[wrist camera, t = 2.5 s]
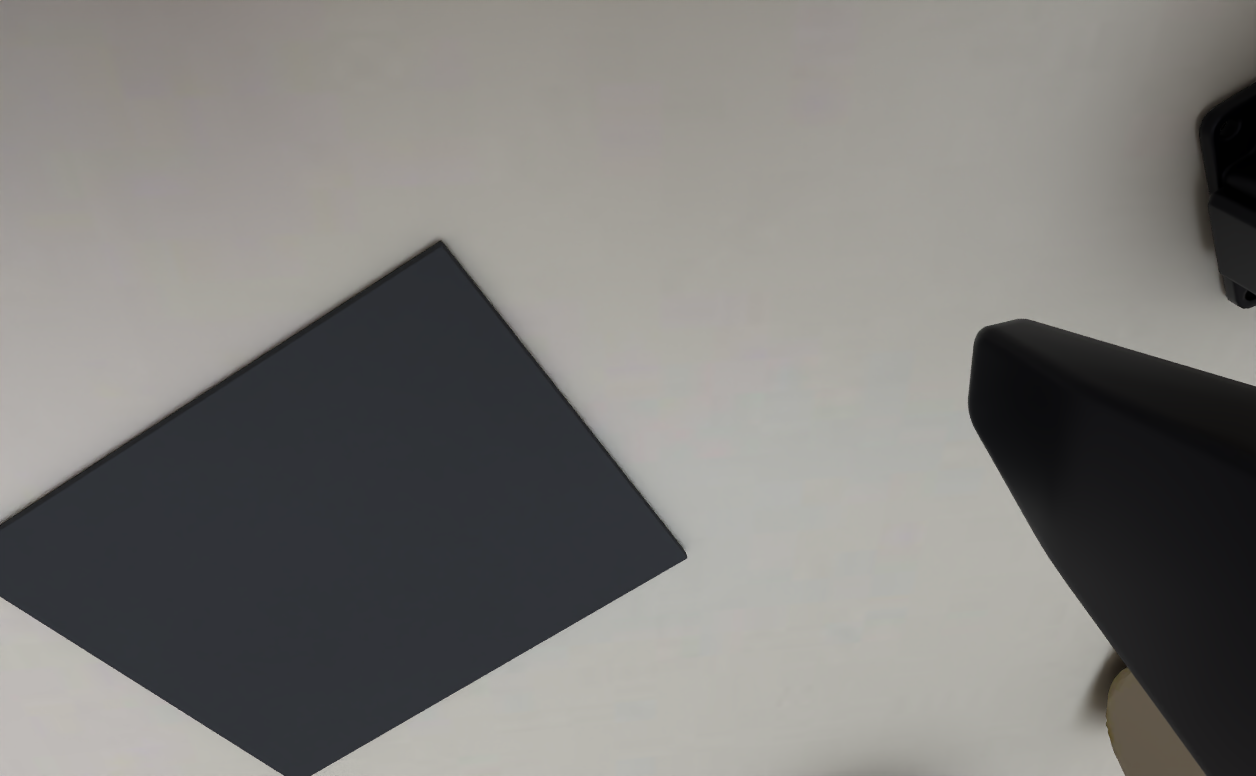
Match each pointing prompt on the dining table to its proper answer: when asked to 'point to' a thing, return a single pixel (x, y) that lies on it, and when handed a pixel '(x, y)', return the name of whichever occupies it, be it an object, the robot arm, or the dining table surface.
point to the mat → (341, 527)
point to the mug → (1144, 733)
